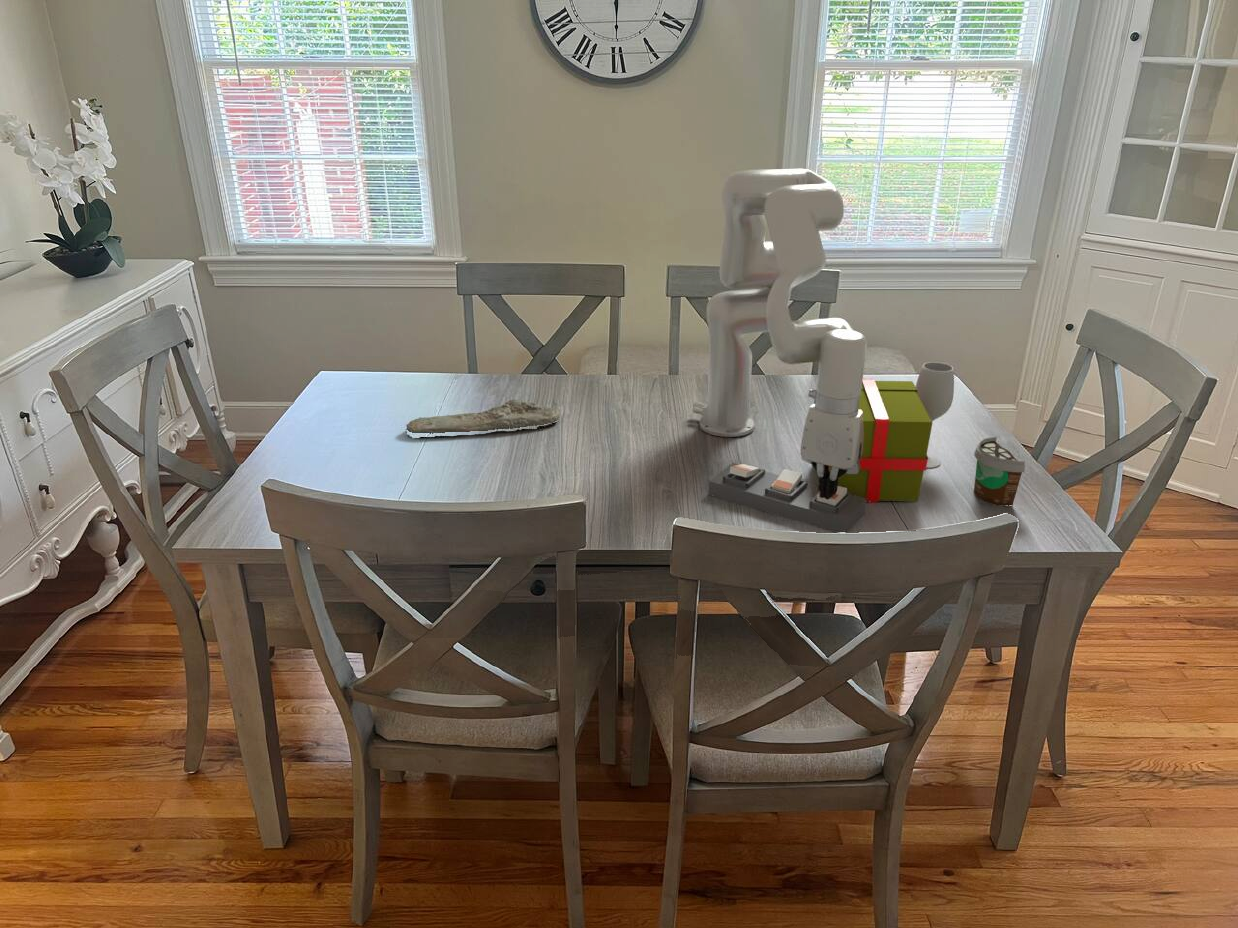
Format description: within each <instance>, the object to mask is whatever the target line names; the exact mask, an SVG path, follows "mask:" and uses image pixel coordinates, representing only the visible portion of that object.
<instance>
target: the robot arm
mask: <svg viewBox="0 0 1238 928" xmlns="http://www.w3.org/2000/svg"><path fill="white" fill-rule="evenodd" d="M721 190H722V191H721V193H722V195H721V200H722V201H721V202H722V209H723V214H724V229H723V230H724V231H723V237H722V242H721V243H722V244H721V245H722V246H721V251H720V261H719V279H720V282H721V284H722V285H723V286H724V287H725V288H728V289H732V290H727V291H721V292H718V293H716V294H715V295H713V296H712V297H711V298H710V299H709V300H708V301H707V304H706V305H707V306H706V318H707V319H706V322H707V327H708V342H709V348H708V349H709V350H708V351H709V352H708V353H709V354H708V377H707V378H708V379H707V397H706V399H707V401H706V403H703V402H702V401H694V403H693V405H692V413H693V414H697V415H698V414H699V415H701V416H702V417H701V418H700V420H699V427H700V429H701V430H702V431H703V432H705V433H706V434H708V435H713V436H716V437H721V438H722V437H723V438H737V437H742V436H743V437H744V436H747V435H749V434H750V433H753V431H754V430H755V427H756V426H755V420H753V419H752V418H751V417H750V416H749V412H750V395H751V381H752V368H753V367H752V365H753V353H752V349H751V348H750V346H749V345H748V344H747V342H746V341H745V340H744V338H743V337H744V336H745V335H751V334H762V333H768V334H769V338H770V342H771V346H772V348H773V351H774V353H775V356H776V357H777V358H778V360H779V361H780V362H782V363H784V364H786V365H797V364H798V365H799V364H807V363H817V362H818V371H817V380H816V389H809V391H808V393H807V395H808V396H807V397H808V398H812V399H813V400H814V401H813V404H811V405H810V406H809V408H808V411H807V415H806V418H805V422H804V427H803V430H802V437H801V443H800V444H801V445H800V457H801V460H802V461H804V462H806V463H808V464H809V465H811V466H812V467H813V468H814V470H815V471H816V473H817V476H818V477H819V479H818V486H819V487H818V490H819V491H820V498H825V499H829V498H831V497H832V496H833V495H835V494H836V492H837V487H838V478H839V477H840V476H842V475H844V474H845V473H848V474H857V473H858V472H859V471H860V470H861V468H860V460H861V458H862V452H863V438H864V426H863V415H862V411H861V410H859V405H860V397H861V389H862V381H863V379H864V374H865V373H864V371H865V364H866V355H867V347H868V340H867V338H866V336H865V335H864V334H863V333H861V332H859V331H856V330H854V329H853V327H852V326H851V324H850V323H849V322H848V321H847V320H846V319H843V318H840V317H827V318H826V317H825V318H812V319H811V318H810V319H798V320H792V318H791V315H790V310H789V304H790V300H791V294H792V289H793V288H795V287H796V286H798V285H800V284H802V283H804V282H806V281H808V280H810V279H812V278H814V277H815V276H816V275H818V274H819V273H820V272H821V271H822V270H823V269H824V268H825V266H826V263H827V258H826V254H825V250H824V247H823V243H822V239H821V235H820V232H823V231H832V230H835V229H837V228H838V227H839V226H840V224H841V223H842V220H843V218H844V211H845V208H844V199H843V198H842V195H841V193H840V191H839V189H838V188H837V186H835V184H833V183H832V182H831V181H829V180H828V179H825V177H823V176H821V175H820V174H817V173H816V172H814V171H813V170H810V169H808V168H778V169H777V168H776V169H773V168H771V169H770V168H768V169H767V168H766V169H765V168H763V169H747V170H741V171H736V172H733V173H731V174H730V175H729V176H728V177H727V178H726V179H725V181H724V183H723V186H722V189H721ZM767 229H768V231H769V235H770V240H766V241H765V239H766V234H767ZM733 289H734V290H733ZM829 466H831V467H832V470H831V472H830V471H829Z"/></svg>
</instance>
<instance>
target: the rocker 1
mask: <svg viewBox="0 0 1238 928" xmlns="http://www.w3.org/2000/svg"><path fill="white" fill-rule="evenodd" d="M739 464H740V463H739ZM759 468H760V467H757V466H752V465H750V464H749V465H748V464H744V463H741V464H740V465H735V466H732V467H730V472H729V473H731V474H735V475H739V476H742V477H750V476H753V475H756V474H758V472H759Z"/></svg>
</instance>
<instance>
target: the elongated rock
mask: <svg viewBox="0 0 1238 928" xmlns="http://www.w3.org/2000/svg"><path fill="white" fill-rule="evenodd" d="M557 420H558V421H560V412H559V411H558V409H555V408H551V407H547V406H546V405H541V404H539V403H537V402H536V403H535V402H528V401H523V402H522V401H518V400H517V399H516V398H515V399H512V398H511V399H510V400H508V401H505V402H504V404H502V405H501V406H500V405H499V406H495V407H491V408H490V409H488V410H485V411H480V412H468V413H457V414H448V415H438V416H437V415H436V416H431V417H418V418H415V419H413V420H410V421H409V422H408V423H407V424H406V425H405V426H406V428H405V431H406V430H408V431H409V432H412V433H430V434H431V433H432V434H433V433H445V432H470V431H488V430H495V429H497V430H498V429H509V428H510V429H513V428H520V427H527V426H534V425H535V426H537V425H544V424H548V423H553V422H555V421H557Z"/></svg>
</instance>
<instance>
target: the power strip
mask: <svg viewBox="0 0 1238 928" xmlns="http://www.w3.org/2000/svg"><path fill="white" fill-rule="evenodd" d="M740 464H742V462H741V463H736V462H732V463H730V464H729V465H728V466H727V467H725V468H724V469H723V470H721V471H720V472H719V473H718V474H716V475H715V476H714V477H712V478H711V479H709V480H708V494H709V496H711V495H713V497H715V498H719V499H721V500H722V499H723V500H726V501H727V502H728V501H729V502H732V503H734V504H739V505H741V506H746V507H749V508H753V509H755V510H759V511H762V512H767V513H770V514H772V515H776V516H779V517H783V518H787V519H790V520H794V521H796V522H799V523H803V524H807V525H809V526H813V527H817V528H820V529H824V530H827V531H830V532H834V533H837V532H847V533H849V531H850V530H851V529H852V528H853V527H854V526H855V524H856V523H857V522H858V521H859V520H860V519H861V518H862V516H864V514H866V507H867V502H866V500H867V499H866V498H862V497H858V496H855V495H853V493H849V492H847V494H846V495H845V496H844V497H843V498H842V499H841V500H840V501H839V502H838V503H837V504H836V505H835V506H834V505H830V504H827V503H823V502H819V501H816V500H817V494H818V493H820V491H819V490H818V487H819V484H813V483H809V482H808V480H805V479H801V480H800V482H799V483H798V485H797V486H796V488H795V489H794V490H793V492H792V493H791V494H787V493H784V492H780V491H776V490H773V489H772V485H773V484H774V482H775V481H776V480H777V478H778V477H779V476H780V474H776V473H773V472H769V471H766V470H765V469H763V468H760V467H758V468H759V472H758V474H756V475H753V476H750V477H742V476H739V475H735V474H731V473H729V472H730V467H732V466H735V465H740Z"/></svg>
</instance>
